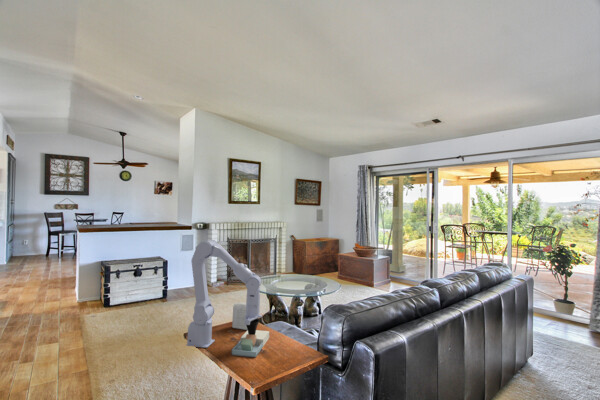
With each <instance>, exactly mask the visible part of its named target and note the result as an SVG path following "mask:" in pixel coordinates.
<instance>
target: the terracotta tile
mask: <svg viewBox="0 0 600 400" xmlns="http://www.w3.org/2000/svg"><path fill="white" fill-rule="evenodd" d="M245 339H251V340H252V342H253V347H254V346H255V343H256V340H257V338H256V335H251V334H247V335H246V338H245Z"/></svg>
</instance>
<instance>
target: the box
mask: <svg viewBox="0 0 600 400" xmlns="http://www.w3.org/2000/svg"><path fill="white" fill-rule="evenodd" d="M263 348H264V346H263V342H262V343H261V344H260V346H257V345H255V346H254V347H253V348H252V351H243V350H242V348H241V339H240V340H239V341H238V342H237V343H236V345H234V347H233V348H232V349H231V356H238V357H247V358H257V356H258V355H259V353H260V351H261V350H262V349H263Z"/></svg>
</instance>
